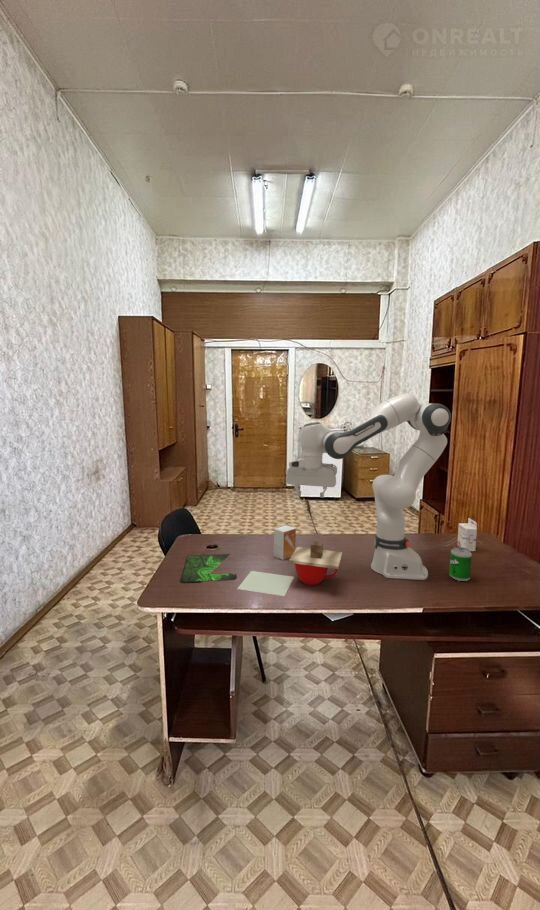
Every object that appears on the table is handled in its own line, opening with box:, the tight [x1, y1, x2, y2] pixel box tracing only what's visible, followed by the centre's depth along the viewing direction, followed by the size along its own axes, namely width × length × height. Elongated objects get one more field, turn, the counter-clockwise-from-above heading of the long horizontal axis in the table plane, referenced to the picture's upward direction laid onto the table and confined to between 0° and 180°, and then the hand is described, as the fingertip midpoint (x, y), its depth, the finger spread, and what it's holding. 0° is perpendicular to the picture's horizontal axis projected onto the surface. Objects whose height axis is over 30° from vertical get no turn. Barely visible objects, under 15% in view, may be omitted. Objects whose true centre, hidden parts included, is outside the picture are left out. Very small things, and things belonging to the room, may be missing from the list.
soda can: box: [448, 546, 473, 582], centre depth 150 cm, size 8×8×12 cm
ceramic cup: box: [294, 563, 338, 586], centre depth 145 cm, size 13×17×10 cm
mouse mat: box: [179, 553, 238, 584], centre depth 159 cm, size 27×22×1 cm
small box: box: [273, 524, 297, 561], centre depth 171 cm, size 8×6×13 cm
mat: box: [236, 570, 295, 597], centre depth 145 cm, size 18×16×1 cm
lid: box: [288, 540, 343, 570], centre depth 144 cm, size 18×14×6 cm
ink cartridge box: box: [456, 517, 478, 552], centre depth 181 cm, size 9×5×15 cm, turn 179°
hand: (310, 496), depth 155 cm, fingers open, 8 cm apart
